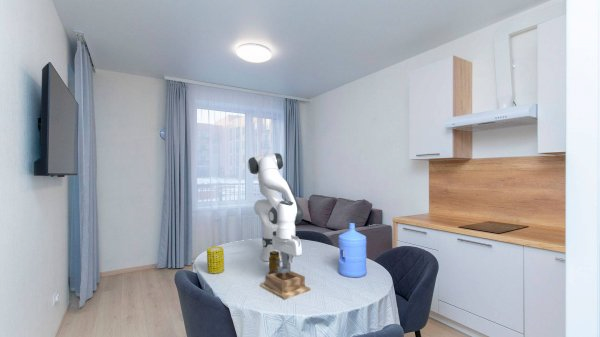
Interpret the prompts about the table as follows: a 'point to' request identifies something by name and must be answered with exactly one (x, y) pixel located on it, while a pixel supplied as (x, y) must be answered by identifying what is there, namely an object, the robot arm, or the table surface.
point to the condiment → (274, 262)
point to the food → (215, 259)
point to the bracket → (284, 264)
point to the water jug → (352, 253)
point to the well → (285, 284)
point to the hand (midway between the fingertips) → (286, 261)
